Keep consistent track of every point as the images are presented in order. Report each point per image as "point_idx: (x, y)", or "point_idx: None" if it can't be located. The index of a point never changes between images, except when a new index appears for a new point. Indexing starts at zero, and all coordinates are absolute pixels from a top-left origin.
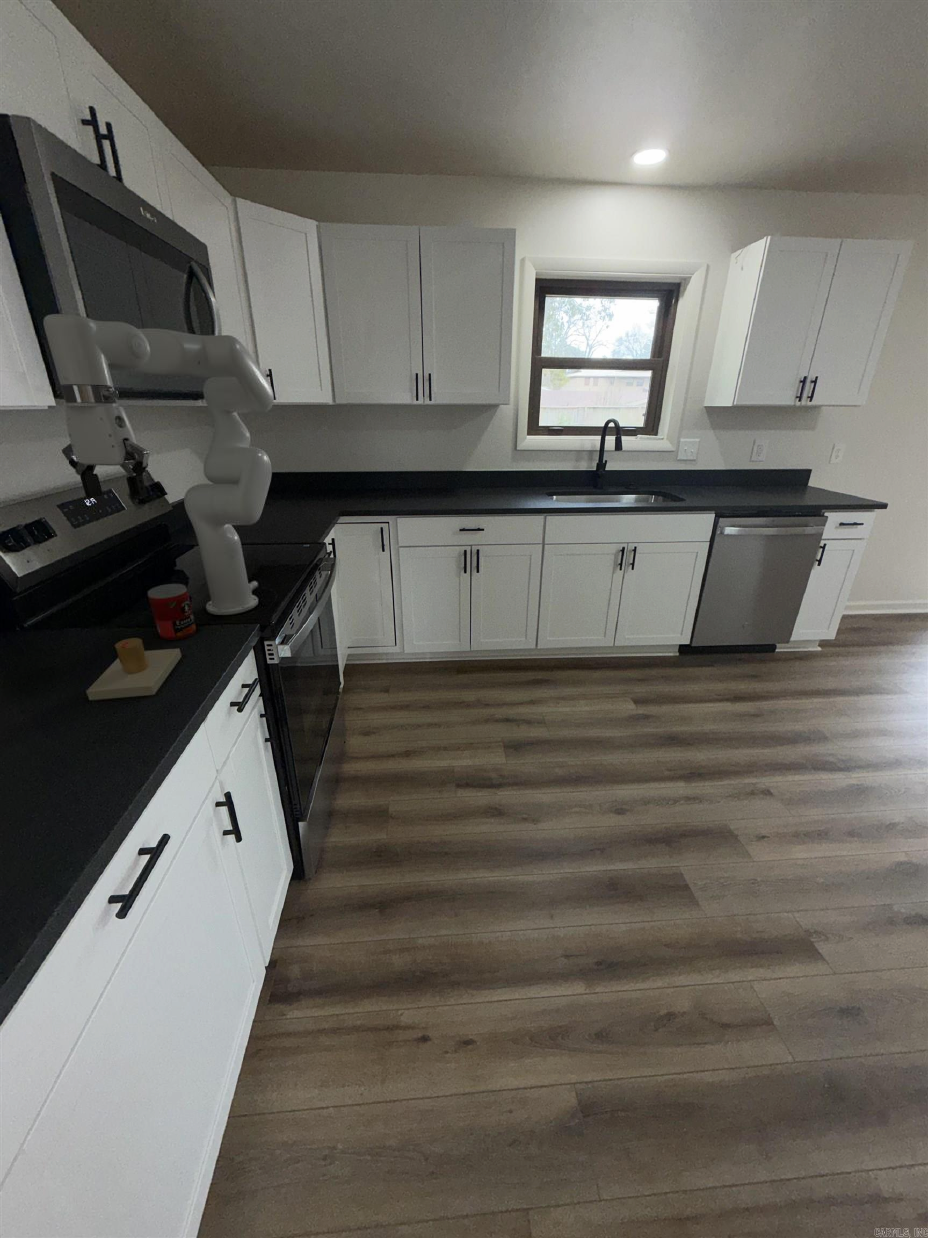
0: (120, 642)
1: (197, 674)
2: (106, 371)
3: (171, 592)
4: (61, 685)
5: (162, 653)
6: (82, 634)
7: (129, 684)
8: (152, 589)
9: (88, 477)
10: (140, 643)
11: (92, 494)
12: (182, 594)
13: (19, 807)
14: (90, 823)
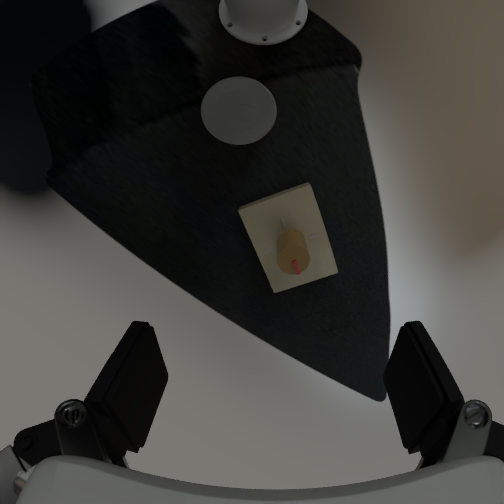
0: (281, 260)
1: (358, 220)
2: None
3: (255, 117)
4: (215, 268)
5: (296, 202)
6: (114, 158)
7: (311, 274)
8: (205, 115)
9: (136, 431)
10: (309, 255)
11: (163, 372)
12: (276, 111)
13: (329, 374)
14: (376, 371)
